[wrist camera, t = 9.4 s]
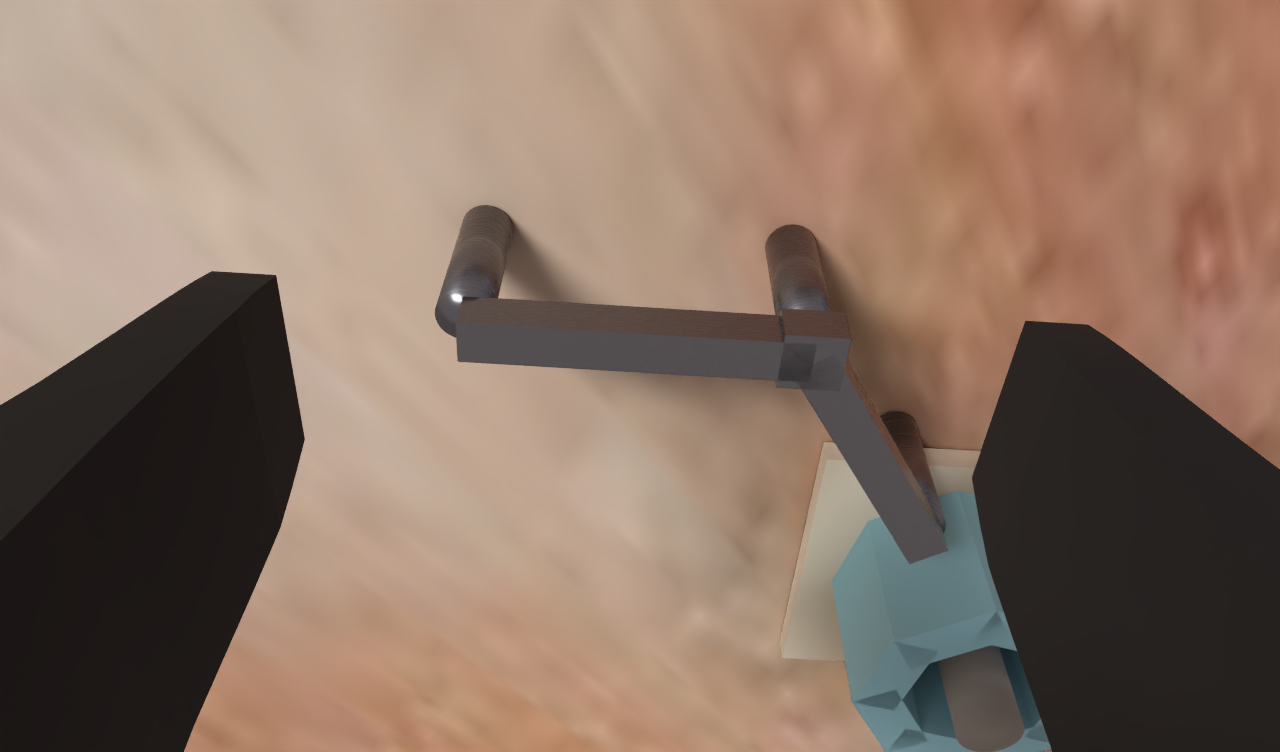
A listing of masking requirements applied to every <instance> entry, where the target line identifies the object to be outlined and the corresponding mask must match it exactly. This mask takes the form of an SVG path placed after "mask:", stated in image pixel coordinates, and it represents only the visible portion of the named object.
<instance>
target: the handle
mask: <svg viewBox="0 0 1280 752" xmlns="http://www.w3.org/2000/svg"><path fill="white" fill-rule="evenodd" d="M512 235H513V225H512V222H511V220H510V218H509V217H508V215H507V214H506V213H505V212H503V211H502V210H500V209H499V208H496V207H494V206H488V205H482V206H477V207H475V208H473V209H471V210H470V211H469V212H468V213H467V214H466V215H465V217H464V219H463V222H462V226H461V229H460V232H459V235H458V238H457V241H456V245H455V248H454V251H453V254H452V257H451V261H450V264H449V267H448V270H447V273H446V276H445V280H444V283H443V286H442V289H441V292H440V296H439V299H438V302H437V305H436V309H435V317H436V320H437V322H438V324H439V326H440V327H441V328H442V329H443V330H444V331H445V332H446V333H448V334H449V335H451V336H453V337H456V338H457V356H458V362H473V363H490V364H507V365H524V366H541V367H557V368H574V369H591V370H608V371H625V372H642V373H659V374H675V375H692V376H709V377H726V378H743V379H760V380H775V383H776V387H777V388H793V389H802V391H803V392H804V394H805V396H806V397H807V399H808V400H809V402H810V404H811V405H812V407H813V409H814V410H815V412H816V413H817V415H818V417H819V418H820V420H821V422H822V423H823V425H824V426H825V428H826V430H827V431H828V433H829V435H830V436H831V438H832V439H833V441H834V443H835V444H836V446H837V448H838V449H839V451H840V452H841V454H842V456H843V457H844V459H845V461H846V462H847V464H848V465H849V467H850V469H851V470H852V472H853V474H854V475H855V477H856V478H857V480H858V482H859V483H860V485H861V487H862V488H863V490H864V491H865V493H866V495H867V496H868V498H869V500H870V501H871V503H872V504H873V506H874V508H875V509H876V511H877V513H878V514H879V516H880V517H881V519H882V521H883V522H884V524H885V526H886V527H887V529H888V530H889V532H890V534H891V535H892V537H893V539H894V540H895V542H896V543H897V545H898V547H899V548H900V550H901V552H902V553H903V555H904V556H905V558H906V560H907V561H908V563H909V564H912V563H915V562H917V561H920V560H923V559H926V558H929V557H932V556H934V555H937V554H940V553H943V552H946V551H948V548H947V544H946V541H945V538H944V534H943V533H944V532H945V529H946V522H945V519H944V515H943V512H942V509H941V505H940V502H939V499H938V495H937V492H936V489H935V486H934V482H933V479H932V476H931V472H930V469H929V466H928V462H927V459H926V456H925V452H924V449H923V446H922V442H921V439H920V436H919V433H918V429H917V426H916V423H915V420H914V419H913V418H912V417H911V416H910V415H908V414H906V413H903V412H890V413H887V414H884V415H882V416H879V414H878V412H877V410H876V409H875V407H874V405H873V403H872V402H871V400H870V398H869V396H868V395H867V393H866V391H865V389H864V388H863V386H862V384H861V382H860V381H859V379H858V377H857V375H856V374H855V372H854V370H853V368H852V367H851V365H850V363H849V361H848V360H847V357H848V353H849V348H850V344H851V335H850V331H849V327H848V323H847V319H846V315H845V312H833V311H832V309H831V305H830V301H829V296H828V292H827V288H826V284H825V279H824V275H823V271H822V266H821V262H820V258H819V253H818V249H817V245H816V241H815V238H814V236H813V234H812V233H811V232H810V231H809V230H808V229H807V228H805V227H803V226H799V225H786V226H782V227H780V228H778V229H776V230H775V231H774V232H773V233H772V234H771V235H770V236H769V238H768V239H767V242H766V246H765V251H766V257H767V264H768V270H769V277H770V283H771V290H772V296H773V303H774V309H775V315H762V314H746V313H729V312H713V311H696V310H680V309H663V308H647V307H630V306H614V305H597V304H581V303H565V302H548V301H532V300H515V299H499V298H498V296H499V291H500V287H501V283H502V278H503V274H504V270H505V265H506V261H507V257H508V252H509V248H510V244H511V239H512Z"/></svg>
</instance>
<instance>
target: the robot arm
mask: <svg viewBox="0 0 1280 752" xmlns="http://www.w3.org/2000/svg"><path fill="white" fill-rule="evenodd" d="M304 440H305V438H304V432H303V427H302V421H301V415H300V409H299V404H298V398H297V392H296V387H295V381H294V375H293V369H292V364H291V358H290V352H289V346H288V341H287V335H286V329H285V324H284V318H283V312H282V306H281V301H280V295H279V289H278V284H277V278H276V275H264V274H248V273H232V272H215V271H212V272H210V273H208V274H206V275H204V276H203V277H201V278H199V279H197V280H195V281H194V282H192V283H190V284H189V285H187V286H185V287H184V288H182V289H181V290H179V291H177V292H176V293H174V294H173V295H171V296H170V297H168V298H167V299H165V300H164V301H162V302H160V303H159V304H157V305H156V306H154V307H153V308H151V309H150V310H148V311H147V312H145V313H144V314H142V315H141V316H139V317H138V318H136V319H135V320H133V321H132V322H130V323H129V324H127V325H126V326H124V327H123V328H121V329H120V330H118V331H117V332H115V333H114V334H112V335H111V336H109V337H108V338H106V339H104V340H103V341H101V342H100V343H98V344H97V345H95V346H94V347H92V348H91V349H89V350H88V351H86V352H85V353H83V354H81V355H80V356H78V357H77V358H75V359H74V360H72V361H71V362H69V363H68V364H66V365H65V366H63V367H62V368H60V369H58V370H57V371H55V372H54V373H52V374H51V375H49V376H48V377H46V378H45V379H43V380H41V381H40V382H38V383H37V384H35V385H33V386H32V387H30V388H28V389H27V390H25V391H23V392H22V393H20V394H18V395H17V396H15V397H13V398H12V399H10V400H8V401H7V402H5V403H3V404H2V405H0V752H184V750H185V747H186V745H187V742H188V739H189V737H190V734H191V732H192V729H193V727H194V724H195V722H196V720H197V717H198V715H199V713H200V711H201V708H202V706H203V704H204V702H205V699H206V697H207V695H208V692H209V690H210V688H211V686H212V683H213V681H214V679H215V677H216V674H217V672H218V670H219V668H220V665H221V663H222V661H223V658H224V656H225V654H226V652H227V649H228V647H229V645H230V643H231V640H232V638H233V636H234V634H235V631H236V629H237V627H238V624H239V622H240V620H241V618H242V615H243V613H244V611H245V609H246V606H247V604H248V602H249V600H250V597H251V595H252V593H253V590H254V588H255V586H256V583H257V581H258V579H259V576H260V574H261V572H262V569H263V567H264V565H265V563H266V560H267V558H268V556H269V553H270V551H271V549H272V546H273V544H274V541H275V539H276V537H277V534H278V532H279V529H280V527H281V524H282V520H283V517H284V513H285V510H286V507H287V503H288V500H289V496H290V493H291V489H292V486H293V482H294V478H295V474H296V471H297V467H298V463H299V459H300V455H301V452H302V448H303V444H304ZM972 482H973V488H974V494H975V500H976V505H977V511H978V517H979V523H980V528H981V533H982V538H983V542H984V547H985V552H986V557H987V561H988V566H989V569H990V572H991V576H992V579H993V582H994V585H995V588H996V591H997V594H998V597H999V600H1000V603H1001V606H1002V609H1003V611H1004V614H1005V617H1006V620H1007V623H1008V626H1009V629H1010V632H1011V635H1012V638H1013V641H1014V644H1015V646H1016V649H1017V652H1018V655H1019V658H1020V661H1021V664H1022V666H1023V669H1024V672H1025V675H1026V678H1027V681H1028V684H1029V686H1030V689H1031V692H1032V695H1033V698H1034V701H1035V703H1036V706H1037V709H1038V712H1039V715H1040V718H1041V721H1042V723H1043V726H1044V729H1045V732H1046V735H1047V738H1048V741H1049V743H1050V746H1051V749H1052V752H1280V469H1278V468H1277V467H1276V466H1274V465H1273V464H1272V463H1270V462H1269V461H1268V460H1266V459H1265V458H1264V457H1262V456H1261V455H1260V454H1258V453H1257V452H1256V451H1254V450H1253V449H1252V448H1250V447H1249V446H1248V445H1247V444H1245V443H1244V442H1243V441H1241V440H1240V439H1239V438H1237V437H1236V436H1235V435H1234V434H1232V433H1231V432H1230V431H1228V430H1227V429H1226V428H1224V427H1223V426H1222V425H1221V424H1219V423H1218V422H1217V421H1215V420H1214V419H1213V418H1212V417H1210V416H1209V415H1208V414H1206V413H1205V412H1204V411H1203V410H1201V409H1200V408H1199V407H1198V406H1196V405H1195V404H1194V403H1192V402H1191V401H1190V400H1189V399H1187V398H1186V397H1185V396H1184V395H1182V394H1181V393H1180V392H1178V391H1177V390H1176V389H1175V388H1173V387H1172V386H1171V385H1170V384H1168V383H1167V382H1166V381H1164V380H1163V379H1162V378H1161V377H1159V376H1158V375H1157V374H1155V373H1154V372H1153V371H1152V370H1150V369H1149V368H1148V367H1146V366H1145V365H1144V364H1143V363H1141V362H1140V361H1139V360H1137V359H1136V358H1135V357H1133V356H1132V355H1131V354H1129V353H1128V352H1127V351H1125V350H1124V349H1123V348H1121V347H1120V346H1119V345H1117V344H1116V343H1115V342H1113V341H1112V340H1110V339H1109V338H1107V337H1106V336H1105V335H1103V334H1102V333H1100V332H1098V331H1097V330H1095V329H1094V328H1092V327H1091V326H1089V325H1084V324H1068V323H1051V322H1035V321H1025V324H1024V327H1023V329H1022V332H1021V335H1020V338H1019V341H1018V344H1017V347H1016V350H1015V353H1014V356H1013V359H1012V362H1011V364H1010V367H1009V370H1008V373H1007V376H1006V379H1005V382H1004V385H1003V388H1002V391H1001V394H1000V397H999V399H998V402H997V405H996V408H995V411H994V414H993V417H992V420H991V423H990V426H989V429H988V432H987V434H986V437H985V440H984V443H983V446H982V449H981V452H980V455H979V458H978V461H977V464H976V466H975V469H974V472H973V475H972Z"/></svg>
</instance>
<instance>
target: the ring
mask: <svg viewBox="0 0 1280 752" xmlns="http://www.w3.org/2000/svg"><path fill="white" fill-rule="evenodd" d="M938 499H939V502H940V505H941V509H942V512H943V515H944V519H945V522H946V529H945V532H944V533H943V534H944V538H945V541H946V544H947V548H948V551H946V552H943V553H940V554H937V555H934V556H932V557H929V558H926V559H923V560H920V561H917V562H915V563H912V564H909V563H908V561H907V560H906V558H905V556H904V555H903V553H902V552H901V550H900V548H899V547H898V545H897V543H896V542H895V540H894V539H893V537H892V535H891V534H890V532H889V530H888V529H887V527H886V526H885V524H884V522H883V521H882V519H881V517H879V518H876V519H873V520H870V521H868V522H867V524H866V525H865V527H864V529H863V530H862V532H861V534H860V535H859V537H858V538H857V540H856V542H855V543H854V545H853V547H852V548H851V550H850V551H849V553H848V555H847V556H846V558H845V560H844V561H843V563H842V565H841V566H840V568H839V569H838V571H837V573H836V574H835V576H834V578H833V579H832V587H833V593H834V599H835V605H836V610H837V616H838V622H839V628H840V634H841V640H842V646H843V652H844V658H845V664H846V669H847V675H848V681H849V687H850V693H851V699H852V703H853V704H854V706H855V707H856V709H857V710H858V712H859V713H860V715H861V716H862V718H863V719H864V721H865V722H866V724H867V725H868V726H869V728H870V729H871V731H872V732H873V734H874V735H875V737H876V738H877V740H878V741H879V743H880V744H881V746H882V747H883V749H884V750H885V752H976V751H972V750H969V749H966V748H964V747H963V746H961V745H960V744H959V742H958V741H957V738H956V734H955V730H954V726H953V722H952V718H951V714H950V710H949V706H948V702H947V698H946V695H945V691H944V687H943V683H942V679H941V675H940V671H939V667H938V663H937V661H939V660H943V659H946V658H949V657H953V656H956V655H960V654H963V653H966V652H970V651H973V650H976V649H980V648H983V647H987V646H990V645H993V646H997V647H999V648H1000V652H1001V655H1002V658H1003V661H1004V664H1005V667H1006V671H1007V674H1008V677H1009V680H1010V683H1011V686H1012V690H1013V693H1014V696H1015V699H1016V702H1017V705H1018V708H1019V712H1020V715H1021V718H1022V721H1023V724H1024V729H1025V730H1024V734H1023V736H1022V737H1021V739H1020V740H1019V741H1018V742H1016V743H1015V744H1013V745H1012V746H1010V747H1008V748H1005V749H1002V750H999V751H993V752H1041V751H1045V750H1049V749H1051V746H1050V743H1049V741H1048V738H1047V735H1046V732H1045V729H1044V726H1043V723H1042V721H1041V718H1040V715H1039V712H1038V709H1037V706H1036V703H1035V701H1034V698H1033V695H1032V692H1031V689H1030V686H1029V684H1028V681H1027V678H1026V675H1025V672H1024V669H1023V666H1022V664H1021V661H1020V658H1019V655H1018V652H1017V649H1016V646H1015V644H1014V641H1013V638H1012V635H1011V632H1010V629H1009V626H1008V623H1007V620H1006V617H1005V614H1004V611H1003V609H1002V606H1001V603H1000V600H999V597H998V594H997V591H996V588H995V585H994V582H993V579H992V576H991V572H990V569H989V566H988V561H987V557H986V552H985V547H984V542H983V538H982V533H981V528H980V523H979V517H978V511H977V505H976V500H975V495H974V494H970V493H966V492H962V491H958V490H957V491H954V492H952V493H949V494H946V495H943V496H940V497H938Z"/></svg>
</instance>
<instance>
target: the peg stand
mask: <svg viewBox="0 0 1280 752" xmlns="http://www.w3.org/2000/svg"><path fill="white" fill-rule="evenodd" d="M923 449H924V452H925V456H926V459H927V462H928V466H929V469H930V472H931V476H932V479H933V482H934V486H935V489H936V492H937V495H938V497H940V496H943V495H946V494H949V493H952V492H954V491H957V490H958V491H962V492H966V493H970V494H974V488H973V482H972V475H973V472H974V469H975V466H976V464H977V461H978V458H979V455H980V452H981V451H970V450H952V449H935V448H923ZM974 495H975V494H974ZM879 517H880V516H879V514H878V513H877V511H876V509H875V508H874V506H873V504H872V503H871V501H870V500H869V498H868V496H867V495H866V493H865V491H864V490H863V488H862V487H861V485H860V483H859V482H858V480H857V478H856V477H855V475H854V474H853V472H852V470H851V469H850V467H849V465H848V464H847V462H846V461H845V459H844V457H843V456H842V454H841V452H840V451H839V449H838V448H837V446H836V444H835V443H832V442H824V443H823V447H822V452H821V456H820V461H819V465H818V470H817V474H816V479H815V484H814V488H813V493H812V497H811V502H810V506H809V511H808V515H807V520H806V524H805V529H804V533H803V538H802V542H801V547H800V551H799V556H798V561H797V565H796V570H795V574H794V579H793V583H792V588H791V592H790V597H789V601H788V606H787V610H786V615H785V619H784V624H783V628H782V633H781V638H780V644H781V653H782V658H791V659H810V660H828V661H845V658H844V652H843V646H842V640H841V634H840V628H839V622H838V616H837V610H836V605H835V599H834V593H833V587H832V579H833V578H834V576H835V574H836V573H837V571H838V569H839V568H840V566H841V565H842V563H843V561H844V560H845V558H846V556H847V555H848V553H849V551H850V550H851V548H852V547H853V545H854V543H855V542H856V540H857V538H858V537H859V535H860V534H861V532H862V530H863V529H864V527H865V525H866V524H867V522H868V521H870V520H873V519H876V518H879ZM937 663H938V667H939V671H940V675H941V679H942V683H943V687H944V691H945V695H946V698H947V702H948V706H949V710H950V714H951V718H952V722H953V726H954V730H955V734H956V738H957V741H958V742H959V744H960V745H961V746H963V747H964V748H966V749H969V750H972V751H976V752H993V751H999V750H1002V749H1005V748H1008V747H1010V746H1012V745H1013V744H1015V743H1016V742H1018V741H1019V740H1020V739H1021V737H1022V736H1023V734H1024V730H1025V729H1024V724H1023V721H1022V718H1021V715H1020V712H1019V708H1018V705H1017V702H1016V699H1015V696H1014V693H1013V690H1012V686H1011V683H1010V680H1009V677H1008V674H1007V671H1006V667H1005V664H1004V661H1003V658H1002V655H1001V652H1000V648H999V647H997V646H993V645H990V646H987V647H983V648H980V649H976V650H973V651H970V652H966V653H963V654H960V655H956V656H953V657H949V658H946V659H943V660H939V661H937Z"/></svg>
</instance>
